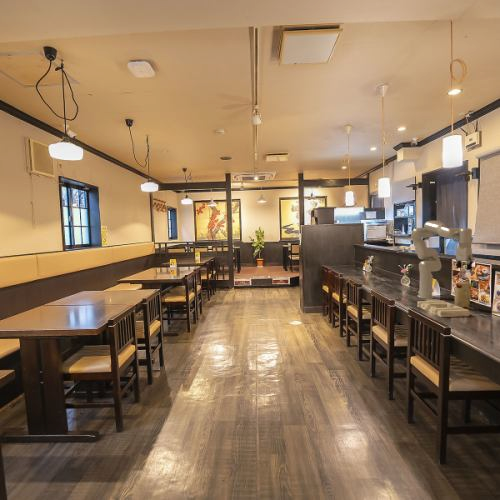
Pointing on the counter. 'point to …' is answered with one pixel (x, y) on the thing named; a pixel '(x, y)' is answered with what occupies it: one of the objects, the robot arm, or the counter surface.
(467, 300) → the food model
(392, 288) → the counter surface
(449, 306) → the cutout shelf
